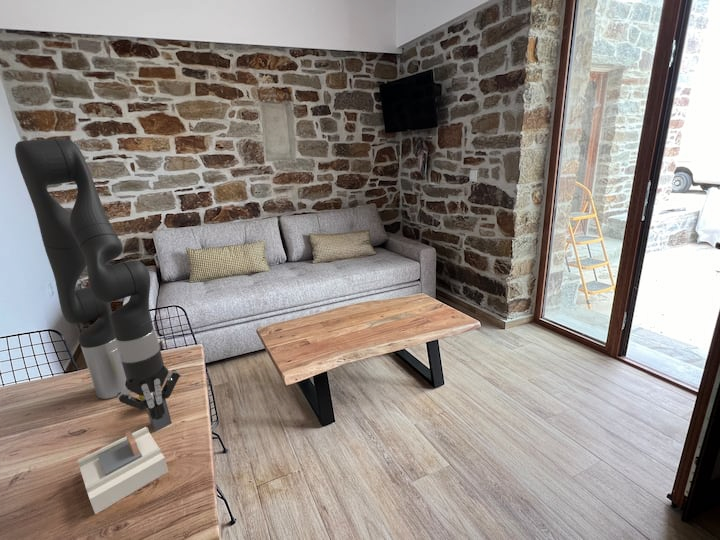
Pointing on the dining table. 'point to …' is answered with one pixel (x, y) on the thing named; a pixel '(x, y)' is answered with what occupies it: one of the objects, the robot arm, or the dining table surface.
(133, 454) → the panel
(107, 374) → the robot arm
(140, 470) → the socket
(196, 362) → the dining table surface
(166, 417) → the plug
